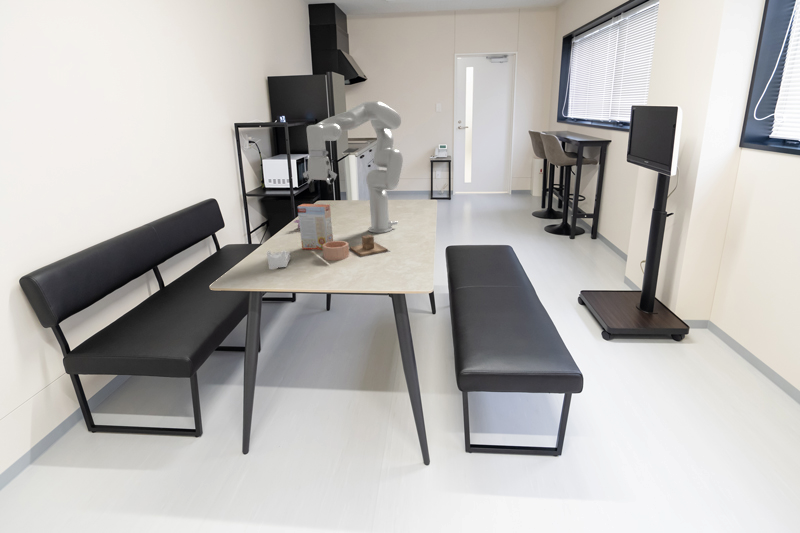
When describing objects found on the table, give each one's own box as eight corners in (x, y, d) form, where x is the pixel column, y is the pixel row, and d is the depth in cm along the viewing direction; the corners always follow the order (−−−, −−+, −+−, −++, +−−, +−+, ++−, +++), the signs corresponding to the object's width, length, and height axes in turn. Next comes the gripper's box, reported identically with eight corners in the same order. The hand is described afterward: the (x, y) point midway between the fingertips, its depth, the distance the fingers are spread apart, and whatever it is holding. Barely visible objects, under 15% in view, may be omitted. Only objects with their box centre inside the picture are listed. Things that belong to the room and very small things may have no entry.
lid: (375, 244, 221) (374, 231, 219) (387, 251, 210) (386, 237, 208) (349, 249, 215) (348, 235, 213) (361, 256, 205) (360, 242, 202)
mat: (376, 244, 223) (376, 243, 222) (390, 252, 210) (390, 251, 210) (347, 250, 216) (347, 248, 216) (360, 258, 204) (359, 257, 203)
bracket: (286, 269, 195) (284, 251, 193) (269, 270, 195) (266, 252, 192) (290, 259, 207) (288, 242, 205) (274, 260, 207) (272, 243, 204)
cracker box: (334, 247, 221) (330, 204, 214) (328, 251, 215) (324, 206, 209) (308, 245, 225) (303, 203, 218) (301, 249, 220) (296, 205, 213)
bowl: (343, 252, 213) (342, 239, 211) (352, 258, 204) (352, 245, 202) (320, 256, 209) (319, 243, 207) (329, 263, 199) (327, 249, 197)
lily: (321, 228, 260) (316, 212, 261) (314, 225, 248) (309, 208, 249) (301, 235, 261) (297, 219, 262) (293, 233, 250) (288, 216, 251)
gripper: (338, 153, 207) (341, 191, 213) (306, 152, 214) (309, 190, 220) (329, 155, 201) (333, 194, 207) (296, 154, 208) (300, 193, 213)
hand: (321, 192), depth 213 cm, fingers open, 9 cm apart
